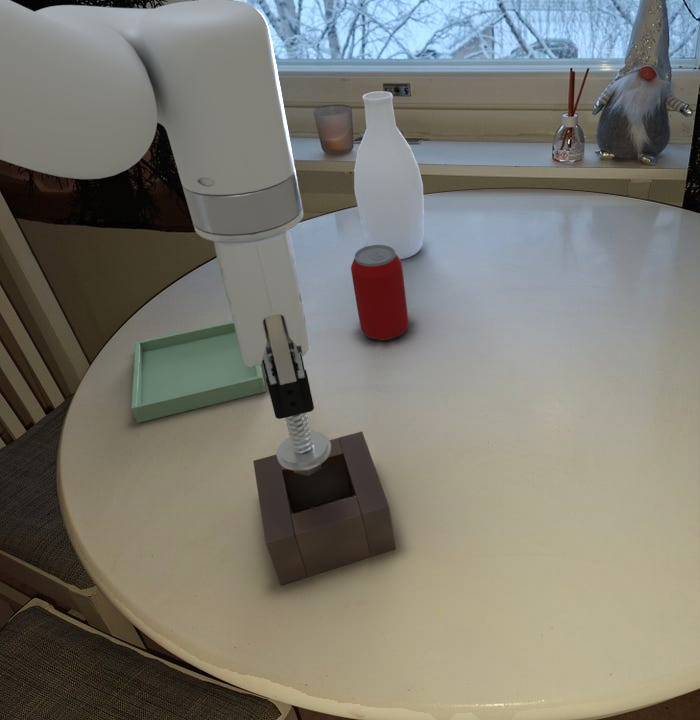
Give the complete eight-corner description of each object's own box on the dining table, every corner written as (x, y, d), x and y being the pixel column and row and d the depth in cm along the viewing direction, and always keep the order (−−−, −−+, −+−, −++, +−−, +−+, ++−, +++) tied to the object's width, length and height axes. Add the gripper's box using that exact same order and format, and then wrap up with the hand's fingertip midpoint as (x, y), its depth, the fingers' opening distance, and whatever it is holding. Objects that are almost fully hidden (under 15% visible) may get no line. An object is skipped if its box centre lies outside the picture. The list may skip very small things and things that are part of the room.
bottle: (378, 231, 122) (358, 83, 107) (437, 237, 119) (425, 86, 104) (352, 260, 113) (326, 104, 98) (415, 267, 111) (398, 107, 96)
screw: (344, 466, 62) (297, 493, 60) (317, 440, 65) (271, 464, 63) (321, 351, 55) (267, 376, 52) (291, 327, 58) (238, 350, 55)
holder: (280, 586, 62) (265, 543, 59) (266, 501, 70) (253, 460, 67) (396, 548, 65) (389, 506, 61) (369, 472, 73) (362, 431, 70)
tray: (137, 423, 81) (131, 408, 80) (141, 355, 93) (135, 341, 92) (266, 391, 85) (262, 377, 84) (254, 330, 97) (250, 316, 96)
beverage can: (392, 312, 100) (382, 237, 93) (418, 331, 95) (410, 254, 88) (352, 329, 96) (339, 253, 89) (378, 349, 92) (366, 271, 85)
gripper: (186, 171, 53) (240, 363, 63) (192, 258, 40) (257, 477, 51) (284, 157, 55) (320, 346, 65) (318, 237, 42) (355, 452, 53)
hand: (292, 402), depth 58 cm, fingers closed on screw, 2 cm apart
